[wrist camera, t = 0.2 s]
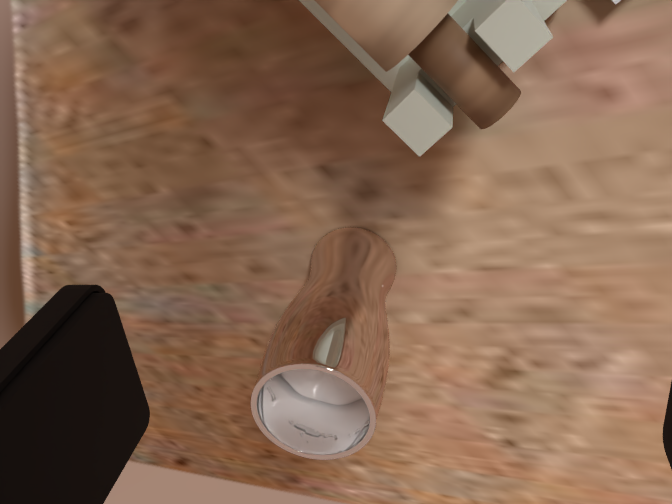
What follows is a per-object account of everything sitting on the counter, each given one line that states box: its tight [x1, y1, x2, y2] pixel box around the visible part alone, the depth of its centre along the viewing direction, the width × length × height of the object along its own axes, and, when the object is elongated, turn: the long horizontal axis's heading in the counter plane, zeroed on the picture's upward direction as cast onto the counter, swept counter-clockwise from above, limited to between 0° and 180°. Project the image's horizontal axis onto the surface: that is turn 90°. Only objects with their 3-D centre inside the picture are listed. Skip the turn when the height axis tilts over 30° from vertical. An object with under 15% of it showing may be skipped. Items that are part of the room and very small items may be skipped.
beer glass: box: [251, 227, 397, 460], centre depth 39 cm, size 7×7×15 cm
